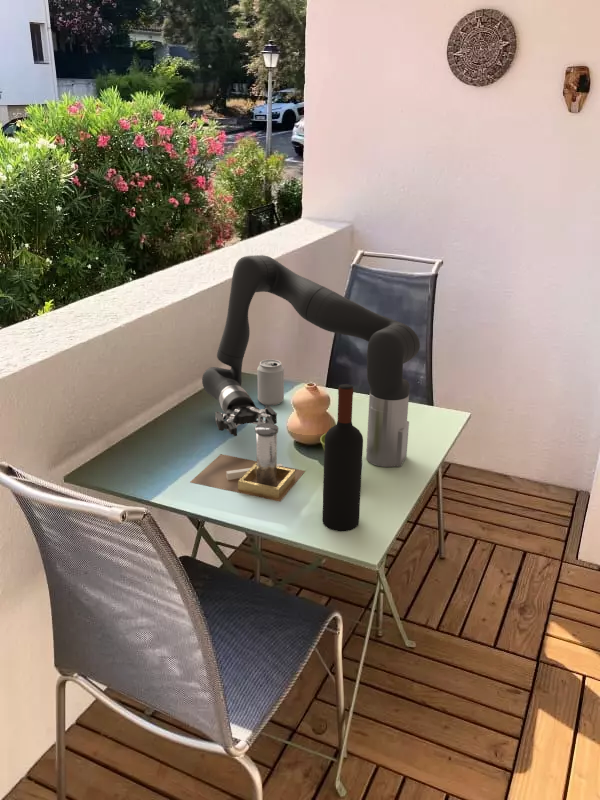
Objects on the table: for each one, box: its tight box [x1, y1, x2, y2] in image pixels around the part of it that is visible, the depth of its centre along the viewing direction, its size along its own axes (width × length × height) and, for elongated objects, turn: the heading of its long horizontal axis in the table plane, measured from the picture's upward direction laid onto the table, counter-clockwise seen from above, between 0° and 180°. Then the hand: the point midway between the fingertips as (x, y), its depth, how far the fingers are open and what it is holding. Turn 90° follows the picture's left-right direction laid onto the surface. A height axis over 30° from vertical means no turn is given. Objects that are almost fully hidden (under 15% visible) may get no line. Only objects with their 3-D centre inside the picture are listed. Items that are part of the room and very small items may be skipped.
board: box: [189, 454, 306, 503], centre depth 165 cm, size 22×15×1 cm
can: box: [256, 358, 285, 407], centre depth 206 cm, size 8×8×12 cm
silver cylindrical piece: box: [254, 423, 279, 487], centre depth 159 cm, size 5×5×14 cm
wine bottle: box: [321, 383, 364, 533], centre depth 144 cm, size 8×8×30 cm
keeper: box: [238, 462, 295, 499], centre depth 161 cm, size 10×10×2 cm
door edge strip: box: [226, 463, 284, 480], centre depth 165 cm, size 1×13×2 cm, turn 108°
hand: (253, 430), depth 168 cm, fingers open, 8 cm apart
